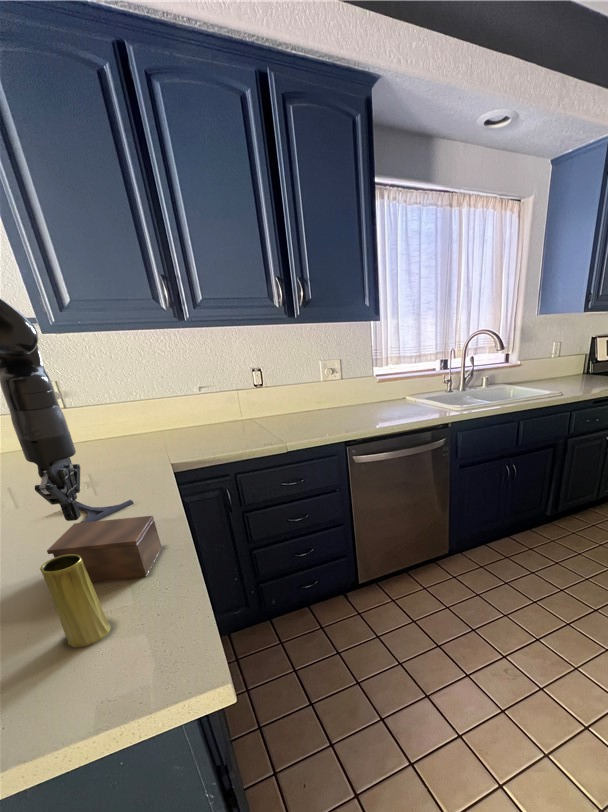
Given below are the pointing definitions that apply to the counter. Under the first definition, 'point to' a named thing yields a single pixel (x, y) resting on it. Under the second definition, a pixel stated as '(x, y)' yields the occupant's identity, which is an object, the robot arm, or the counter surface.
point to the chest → (121, 558)
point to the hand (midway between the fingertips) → (73, 519)
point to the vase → (75, 600)
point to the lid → (102, 534)
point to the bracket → (101, 510)
